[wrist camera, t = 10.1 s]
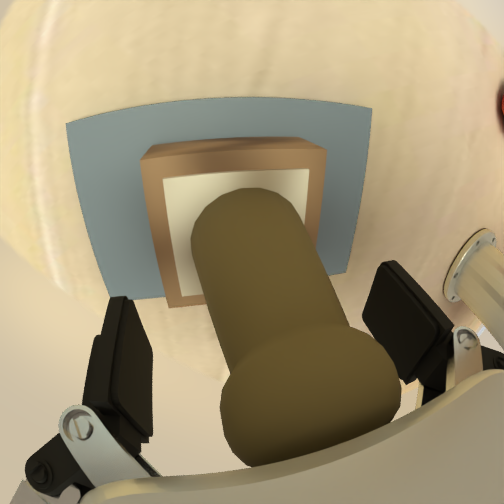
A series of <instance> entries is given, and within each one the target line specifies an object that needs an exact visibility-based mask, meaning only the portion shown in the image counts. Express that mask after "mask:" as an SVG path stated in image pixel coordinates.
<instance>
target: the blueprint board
mask: <svg viewBox="0 0 504 504" xmlns="http://www.w3.org/2000/svg"><path fill="white" fill-rule="evenodd" d="M371 117H372V108H367V107H361V106H355V105H349V104H342V103H334V102H326V101H316V100H305V99H291V98H269V97H231V98H209V99H195V100H184V101H174V102H166V103H158V104H151V105H145V106H139V107H133V108H128V109H123V110H118V111H113V112H108V113H104V114H100V115H95V116H91V117H87V118H84V119H80V120H76V121H73V122H70V123H66V130H67V138H68V145H69V152H70V158H71V164H72V169H73V174H74V179H75V184H76V189H77V193H78V198H79V202H80V206H81V210H82V214H83V217H84V221H85V225H86V228H87V232H88V235H89V239H90V242H91V245H92V248H93V251H94V254H95V257H96V260H97V263H98V266H99V269H100V272H101V275H102V277H103V280H104V283H105V285H106V288H107V290H108V293H109V296H110V298H111V297H116V296H127V297H128V300H130V299H132V300H137V299H148V298H158V297H166V296H165V292H164V288H163V284H162V280H161V275H160V271H159V267H158V263H157V258H156V253H155V249H154V244H153V239H152V234H151V229H150V224H149V218H148V213H147V207H146V201H145V195H144V188H143V181H142V174H141V167H140V159H141V158H142V157H143V155H144V154H145V153H146V152H147V150H148V149H149V148H150V147H151V146H152V145H157V144H165V143H173V142H182V141H192V140H203V139H216V138H234V137H300V138H303V139H305V140H307V141H309V142H312V143H314V144H316V145H318V146H320V147H322V148H325V149H327V157H326V168H325V178H324V188H323V197H322V205H321V213H320V221H319V229H318V236H317V243H316V251H317V253H318V255H319V257H320V259H321V261H322V264H323V266H324V268H325V270H326V272H327V275H334V274H340V273H346V269H347V265H348V261H349V256H350V252H351V248H352V243H353V238H354V234H355V229H356V224H357V218H358V213H359V208H360V202H361V196H362V190H363V184H364V177H365V170H366V163H367V155H368V147H369V138H370V128H371Z"/></svg>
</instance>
